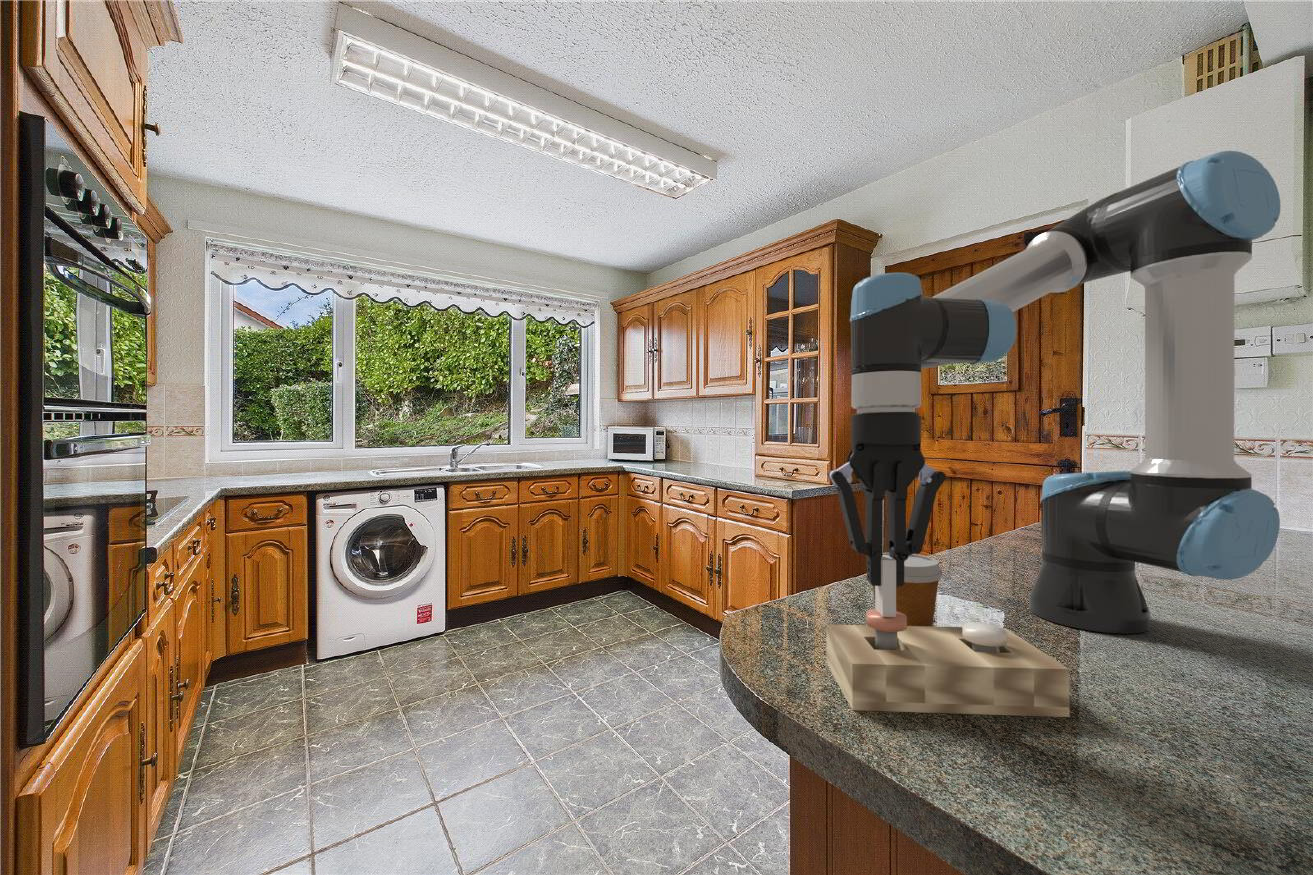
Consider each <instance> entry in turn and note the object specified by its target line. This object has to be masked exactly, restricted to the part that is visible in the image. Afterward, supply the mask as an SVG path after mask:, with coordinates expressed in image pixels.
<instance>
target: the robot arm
mask: <svg viewBox="0 0 1313 875" xmlns="http://www.w3.org/2000/svg"><path fill="white" fill-rule="evenodd" d="M1280 216H1281V198H1280V193H1279V189H1278V187H1277V184H1276V181H1275V180H1274V178H1273V176H1272V175H1271V172H1270V171H1269V170H1268V169H1267V168H1266V167H1265V166H1264V165H1263V164H1262V163H1261V162H1260V161H1259V160H1258V159H1257V158H1254V157H1253V156H1252V155H1250V154H1247V153H1245V152H1242V151H1237V150H1224V151H1222V150H1221V151H1218V152H1214V153H1212V154H1209V155H1207V156H1205V157H1202V158H1201V157H1200V158H1199V159H1194V160H1190V161H1186V162H1185V163H1183V164H1181V165H1179V166H1178V167H1176V168H1173V169H1171V170H1168V171H1165V172H1163V173H1161V174H1159V175H1157V176H1153V177H1151V178H1149V179H1146V180H1144V181H1142V182H1139V183H1137V184H1135V185H1132V186H1130V187H1127V188H1125V189H1123V190H1120V191H1118V192H1115V193H1113V194H1110V195H1108V196H1105V197H1103V198H1100V199H1099V200H1097V201H1096V202H1093V203H1092V204H1090V205H1088V206H1087V207H1085V208H1084V209H1081V210H1080V211H1079V212H1077V213H1075V214H1073V215H1072V216H1070V217H1069V218H1067V219H1065V220H1064V221H1062V222H1060V223H1059V224H1057V225H1055V226H1054V227H1052V228H1050V229H1049V230H1046V231H1045V232H1043V233H1041V234H1039V235H1037V236H1035V237H1034V238H1032V240H1031V241H1030V242H1029V243H1028V245H1027V247H1026V249H1024V250H1022V251H1020V252H1018V253H1016V254H1014V255H1011V256H1010V257H1008V258H1007V259H1004V260H1003V261H1001V262H999V263H997V264H994V265H992V266H991V267H988V268H986V269H985V270H983V271H980V272H978V273H977V274H974V275H973V276H971V277H968V278H967V279H965V280H962V281H961V282H959V283H957V284H956V285H953V286H951V287H949V288H947V289H946V290H943V291H941V292H939V293H937V294H935V295H934V296H932V297H930V296H925V295H924V296H923V289H922V282H921V279H920V277H919V276H918V275H914V274H912V273H909V272H887V273H880V274H876V275H872V276H868V277H865V278H863V279H862V280H860V281H858V283H856V284H855V286H854V287H853V289H852V293H851V294H852V295H851V296H852V297H851V300H850V301H851V302H850V303H851V304H850V317H849V323H850V355H851V357H850V358H851V359H850V361H851V366H850V367H851V395H850V396H851V402H850V403H851V408H852V409H854V410H856V413H853V414H852V416H850V417H851V420H850V423H851V424H850V427H851V428H850V433H851V434H850V440H851V441H850V444H851V448H850V452H849V454H848V455H847V457H846V463H844V464H843V465H842V466H840V467H838V468H836V469H832V470H829V471H828V473H827V477H828V479H829V481H830V482H831V483H832V485H833V486H834V488H835V489H836V492H837V497H838V501H839V505H840V509H841V512H842V517H843V520H844V526H845V528H846V532H847V537H848V540H849V544H850V547H851V548H852V549H854V551H855V552H856V553H858V554H863V555H865V556H866V579H867V582H868V583H869V584H870V586H872V587H873V586H875V600H874V606H875V607H874V609H875V610H876V611H877V612H878V613H879V614H880V615H881V616H882V617H896V586H903V584H904V561H906V560H907V559H908V556H909V555H912V554H916V555H920V554H921V553H922V551H923V548H924V543H925V539H926V536H927V532H928V528H929V523H930V520H931V517H932V516H931V515H932V512H933V507H934V504H935V501H936V500H935V499H936V495H937V492H938V490H939V489H940V488H941V486H942V485H943V483H944V482H945V480H946V478H947V475H946V473H945V472H944V471H942V470H937V469H935V468H933V467H931V466H930V465H928V464H926V458H925V456H924V455H923V453H922V449H921V446H922V415H920V413H919V412H916V409H917V408H920V407H921V406H922V370H925V369H929V368H936V367H943V366H947V365H953V364H970V365H978V364H989V363H994V362H997V361H999V360H1001V359H1003V358H1004V357H1005V356H1006V355H1007V354H1008V353H1009V352H1010V351H1011V350H1012V347H1013V346H1014V343H1015V342H1016V341H1015V340H1016V338H1017V335H1018V334H1017V329H1018V326H1017V319H1016V318H1017V317H1016V315H1015V314H1014V312H1016V311H1018V310H1020V309H1021V308H1023V307H1025V306H1027V305H1030V304H1031V303H1032V302H1035V301H1036V300H1038V299H1040V298H1042V297H1044V296H1046V295H1047V294H1050V293H1053V294H1054V293H1056V294H1057V293H1058V294H1059V293H1065V292H1067V291H1069V290H1071V289H1074V288H1075V287H1078V286H1080V285H1082V284H1085V283H1088V282H1092V281H1095V280H1099V279H1103V278H1107V277H1112V276H1116V275H1120V274H1124V273H1125V274H1126V273H1129V272H1130V278H1131V279H1132V280H1134V281H1136V282H1137V283H1139V285H1142V286H1143V287H1144V459H1143V460H1142V462H1140V463H1139V464H1137V465H1136V466H1134V467H1133V468H1132V469H1131V470H1119V471H1117V470H1116V471H1094V472H1092V471H1091V472H1077V473H1075V472H1073V473H1059V474H1058V473H1057V474H1052V475H1049V476H1047V477H1046V478H1045V479H1044V481H1043V482H1042V491H1041V497H1040V511H1041V514H1040V515H1041V516H1040V517H1041V518H1040V519H1041V524H1040V525H1041V565H1040V568H1039V570H1038V573H1037V575H1036V578H1035V580H1034V583H1033V585H1032V588H1031V591H1030V593H1029V596H1028V608H1029V611H1030V612H1031V613H1033V615H1036V616H1037V617H1039V618H1042V619H1044V620H1047V621H1049V622H1052V623H1056V624H1058V625H1063V626H1066V627H1069V628H1074V629H1075V628H1076V629H1079V630H1084V631H1085V630H1086V631H1091V632H1098V633H1107V634H1110V633H1111V634H1123V635H1124V634H1125V635H1126V634H1127V635H1128V634H1130V635H1132V634H1141V633H1145V632H1148V631H1150V630H1151V625H1152V624H1151V622H1152V620H1151V618H1152V617H1151V611H1150V609H1149V607H1148V605H1147V601H1146V599H1145V596H1144V593H1143V591H1142V588H1141V586H1140V584H1139V581H1138V578H1137V575H1136V563H1138V564H1142V565H1143V564H1144V565H1147V566H1152V567H1157V568H1161V569H1167V570H1171V571H1175V572H1178V573H1179V572H1180V573H1182V574H1185V575H1188V576H1189V577H1190V576H1191V577H1204V578H1209V579H1210V578H1211V579H1216V580H1222V581H1223V580H1225V581H1233V580H1237V579H1242V578H1244V577H1247V576H1249V575H1251V574H1252V573H1254V572H1256V571H1257V570H1259V568H1260V567H1262V565H1263V564H1264V563H1265V562H1266V561H1267V560H1268V559H1269V557H1270V556H1271V555H1272V552H1273V551H1274V548H1275V546H1276V544H1277V541H1278V538H1279V534H1280V526H1281V525H1280V524H1281V521H1280V513H1279V510H1278V509H1277V507H1275V502H1274V500H1273V499H1272V498H1271V497H1270V496H1268V495H1267V494H1265V493H1264V492H1260V491H1258V490H1256V489H1253V488H1252V486H1253V485H1252V482H1253V481H1252V473H1250V472H1249V471H1248V470H1246V469H1245V468H1244V467H1242V466H1241V465H1239V464H1238V463H1237V461H1236V460H1235V275H1236V274H1237V273H1238V271H1239V270H1240V269H1242V268H1243V267H1244V266H1246V265H1247V264H1248V263H1249V262H1250V261H1251V260H1252V258H1253V255H1252V254H1253V241H1254V240H1256V239H1260V238H1262V237H1264V236H1265V235H1266V234H1269V232H1271V231H1272V230H1273V229H1274V227H1276V223H1277V222H1278V220H1279V218H1280ZM852 473H853V474H854V476H855V478H857V480H858V481H859V482H860V484H861V486H863V488H864V496H865V535H864V531H863V527H862V524H861V520H860V516H859V515H860V514H859V511H858V508H857V507H858V506H857V504H856V503H857V502H856V500H855V496H854V492H853V491H854V490H853V488H852V486H851V485H850V484H851V483H853V477H852ZM918 474H919V475H918ZM917 476H918V478H917ZM916 478H917V480H918V482H919V485H918V487H917V489H916V492H915V495H914V496H915V497H914V500H913V504H912V509H911V513H910V517H909V521H908V524H907V500H908V495H909V494H908V488H909V487H910V486H911V485H912V482H913V481H914V480H915V479H916ZM885 491H886V494H885ZM885 495H886V498H887V550H888V551H887V553H889V556H888V555H883V553H884V544H883V543H884V539H883V538H884V534H883V532H884V519H883V518H884V515H883V514H884V511H883V510H884V500H885Z"/></svg>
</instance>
